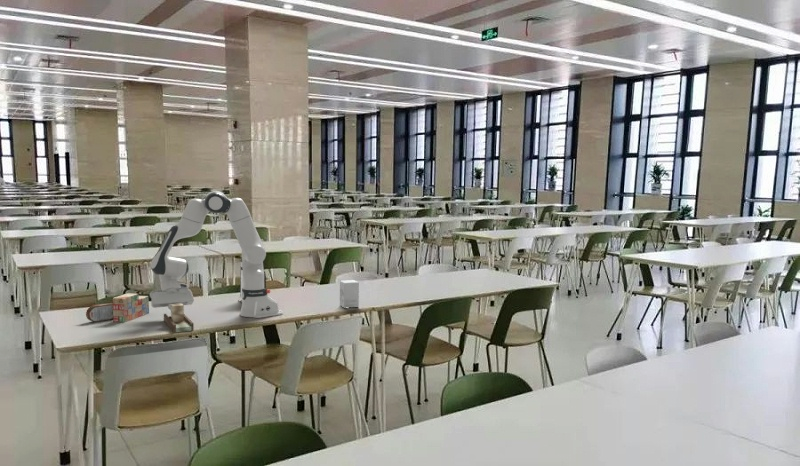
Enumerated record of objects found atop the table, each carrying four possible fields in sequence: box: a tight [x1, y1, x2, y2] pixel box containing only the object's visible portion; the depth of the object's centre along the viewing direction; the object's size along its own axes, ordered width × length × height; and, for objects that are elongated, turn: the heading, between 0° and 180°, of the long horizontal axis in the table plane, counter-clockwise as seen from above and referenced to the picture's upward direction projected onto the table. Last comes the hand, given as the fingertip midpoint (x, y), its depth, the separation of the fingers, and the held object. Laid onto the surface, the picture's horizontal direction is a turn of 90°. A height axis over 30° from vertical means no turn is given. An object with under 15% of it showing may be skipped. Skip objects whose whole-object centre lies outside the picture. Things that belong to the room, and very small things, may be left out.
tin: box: [85, 302, 113, 323], centre depth 300 cm, size 15×3×8 cm, turn 141°
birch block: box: [170, 303, 185, 322], centre depth 295 cm, size 5×5×8 cm
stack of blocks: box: [112, 292, 150, 323], centre depth 308 cm, size 21×6×12 cm, turn 170°
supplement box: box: [339, 279, 360, 309], centre depth 346 cm, size 9×9×15 cm
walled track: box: [163, 313, 195, 333], centre depth 294 cm, size 9×26×4 cm, turn 31°
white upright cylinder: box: [237, 257, 267, 302], centre depth 352 cm, size 17×16×30 cm
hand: (174, 312), depth 301 cm, fingers closed
